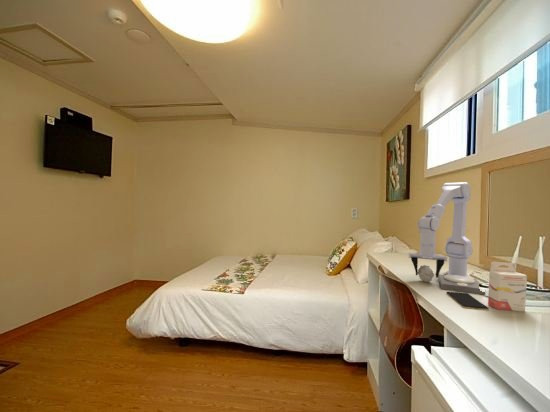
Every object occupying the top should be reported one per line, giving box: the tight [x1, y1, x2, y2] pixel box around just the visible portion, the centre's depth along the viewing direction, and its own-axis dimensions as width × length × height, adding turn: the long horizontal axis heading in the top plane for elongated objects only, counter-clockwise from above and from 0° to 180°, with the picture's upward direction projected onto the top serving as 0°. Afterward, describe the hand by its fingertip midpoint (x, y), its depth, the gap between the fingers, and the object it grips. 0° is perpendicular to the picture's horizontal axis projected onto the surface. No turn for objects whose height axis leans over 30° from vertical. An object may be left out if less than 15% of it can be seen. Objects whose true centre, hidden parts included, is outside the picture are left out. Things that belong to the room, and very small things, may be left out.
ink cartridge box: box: [487, 261, 528, 312], centre depth 92 cm, size 9×5×15 cm, turn 84°
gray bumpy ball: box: [417, 264, 435, 283], centre depth 120 cm, size 6×7×7 cm
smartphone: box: [446, 291, 490, 311], centre depth 97 cm, size 7×1×15 cm
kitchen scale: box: [437, 274, 486, 295], centre depth 115 cm, size 16×14×3 cm
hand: (426, 275), depth 120 cm, fingers open, 7 cm apart
